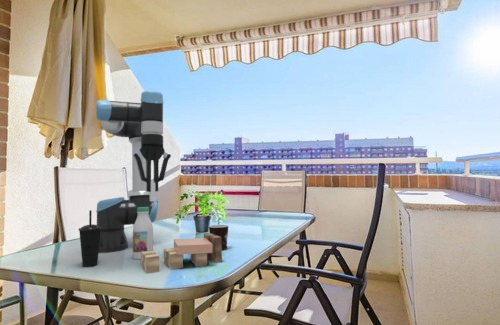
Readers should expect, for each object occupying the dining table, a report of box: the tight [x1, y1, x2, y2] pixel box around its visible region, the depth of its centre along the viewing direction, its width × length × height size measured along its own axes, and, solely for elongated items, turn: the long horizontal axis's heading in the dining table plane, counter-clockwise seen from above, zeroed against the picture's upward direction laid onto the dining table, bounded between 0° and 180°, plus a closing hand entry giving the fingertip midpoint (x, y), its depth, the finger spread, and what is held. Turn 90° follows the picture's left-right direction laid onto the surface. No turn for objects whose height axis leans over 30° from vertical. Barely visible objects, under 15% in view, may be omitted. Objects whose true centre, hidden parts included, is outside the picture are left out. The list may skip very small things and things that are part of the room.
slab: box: [173, 237, 213, 255], centre depth 113 cm, size 14×12×3 cm
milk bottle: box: [132, 207, 154, 260], centre depth 125 cm, size 8×8×20 cm
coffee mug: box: [208, 224, 229, 251], centre depth 136 cm, size 12×9×10 cm
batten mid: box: [163, 247, 184, 270], centre depth 111 cm, size 11×4×5 cm, turn 29°
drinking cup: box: [78, 210, 102, 268], centre depth 114 cm, size 8×8×20 cm
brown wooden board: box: [203, 232, 223, 264], centre depth 119 cm, size 12×2×9 cm, turn 29°
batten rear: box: [140, 249, 160, 274], centre depth 107 cm, size 11×4×5 cm, turn 29°
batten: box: [190, 253, 208, 267], centre depth 114 cm, size 11×4×5 cm, turn 20°
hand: (152, 201), depth 110 cm, fingers closed
